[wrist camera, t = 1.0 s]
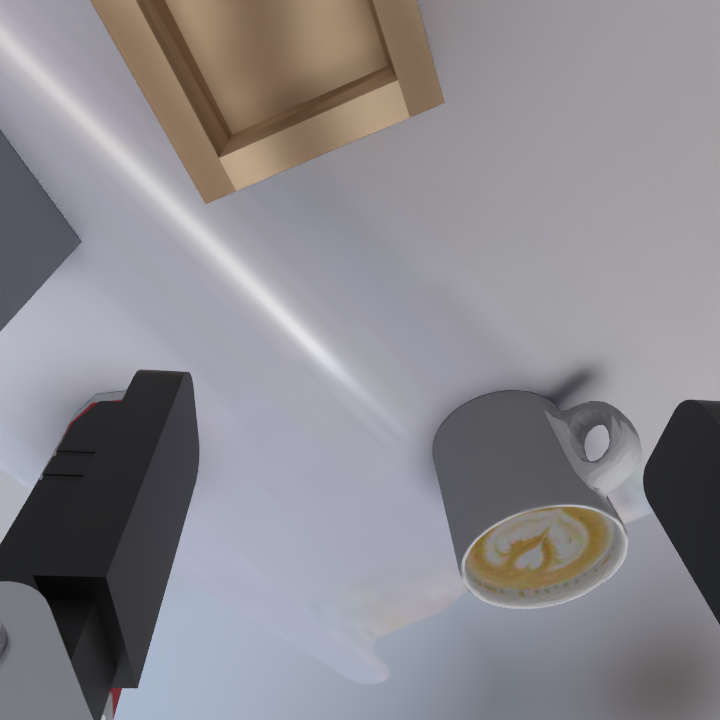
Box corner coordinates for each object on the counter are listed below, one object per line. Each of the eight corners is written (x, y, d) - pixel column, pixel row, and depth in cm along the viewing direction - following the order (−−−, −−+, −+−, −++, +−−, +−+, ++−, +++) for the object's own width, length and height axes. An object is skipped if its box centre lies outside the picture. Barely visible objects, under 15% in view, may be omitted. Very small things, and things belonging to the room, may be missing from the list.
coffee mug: (479, 508, 45) (514, 627, 37) (405, 440, 40) (426, 559, 32) (633, 422, 41) (712, 536, 32) (570, 336, 36) (643, 443, 28)
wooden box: (337, -220, 21) (341, -268, 17) (425, 83, 27) (444, 102, 23) (87, -84, 23) (34, -98, 19) (222, 170, 29) (205, 203, 25)
